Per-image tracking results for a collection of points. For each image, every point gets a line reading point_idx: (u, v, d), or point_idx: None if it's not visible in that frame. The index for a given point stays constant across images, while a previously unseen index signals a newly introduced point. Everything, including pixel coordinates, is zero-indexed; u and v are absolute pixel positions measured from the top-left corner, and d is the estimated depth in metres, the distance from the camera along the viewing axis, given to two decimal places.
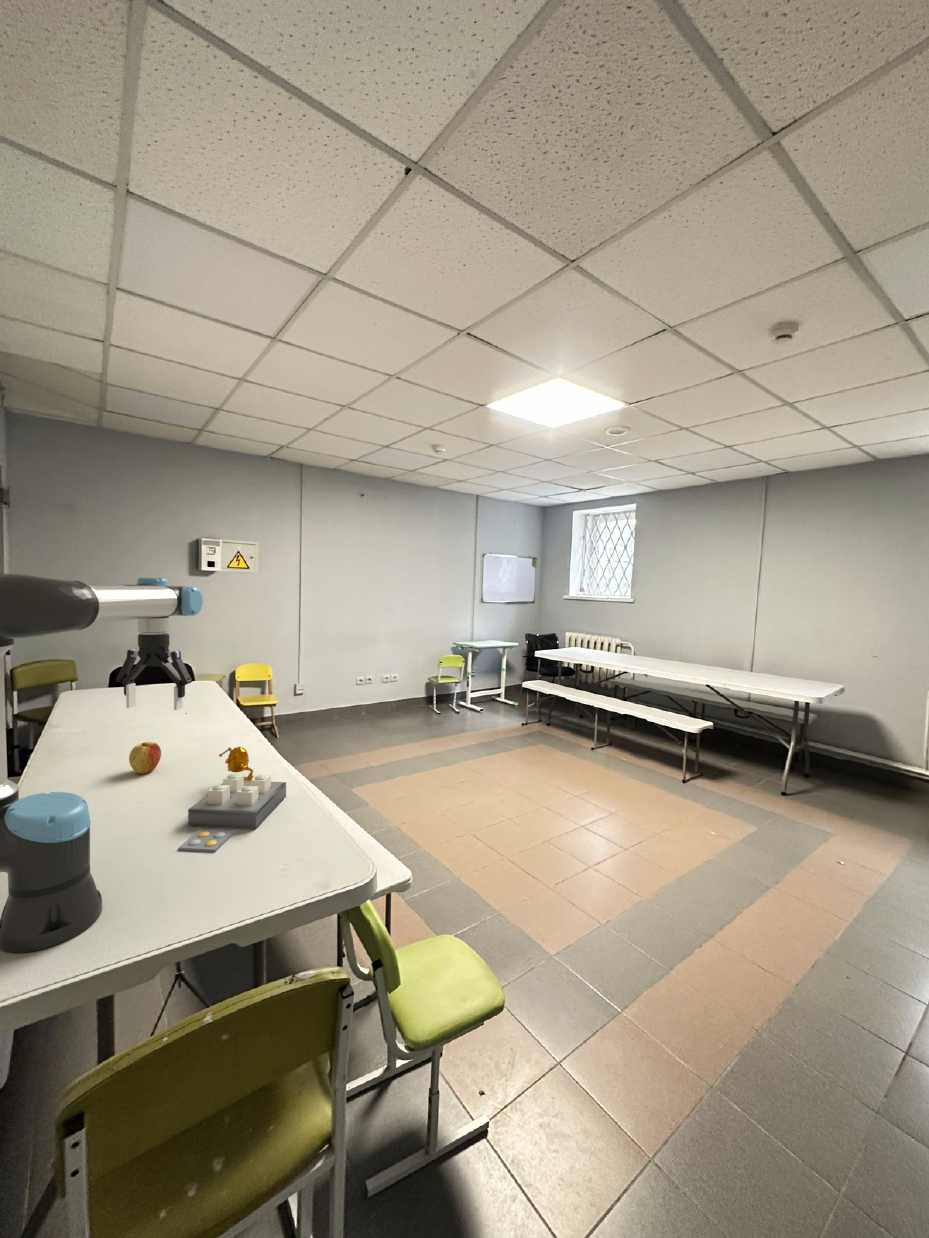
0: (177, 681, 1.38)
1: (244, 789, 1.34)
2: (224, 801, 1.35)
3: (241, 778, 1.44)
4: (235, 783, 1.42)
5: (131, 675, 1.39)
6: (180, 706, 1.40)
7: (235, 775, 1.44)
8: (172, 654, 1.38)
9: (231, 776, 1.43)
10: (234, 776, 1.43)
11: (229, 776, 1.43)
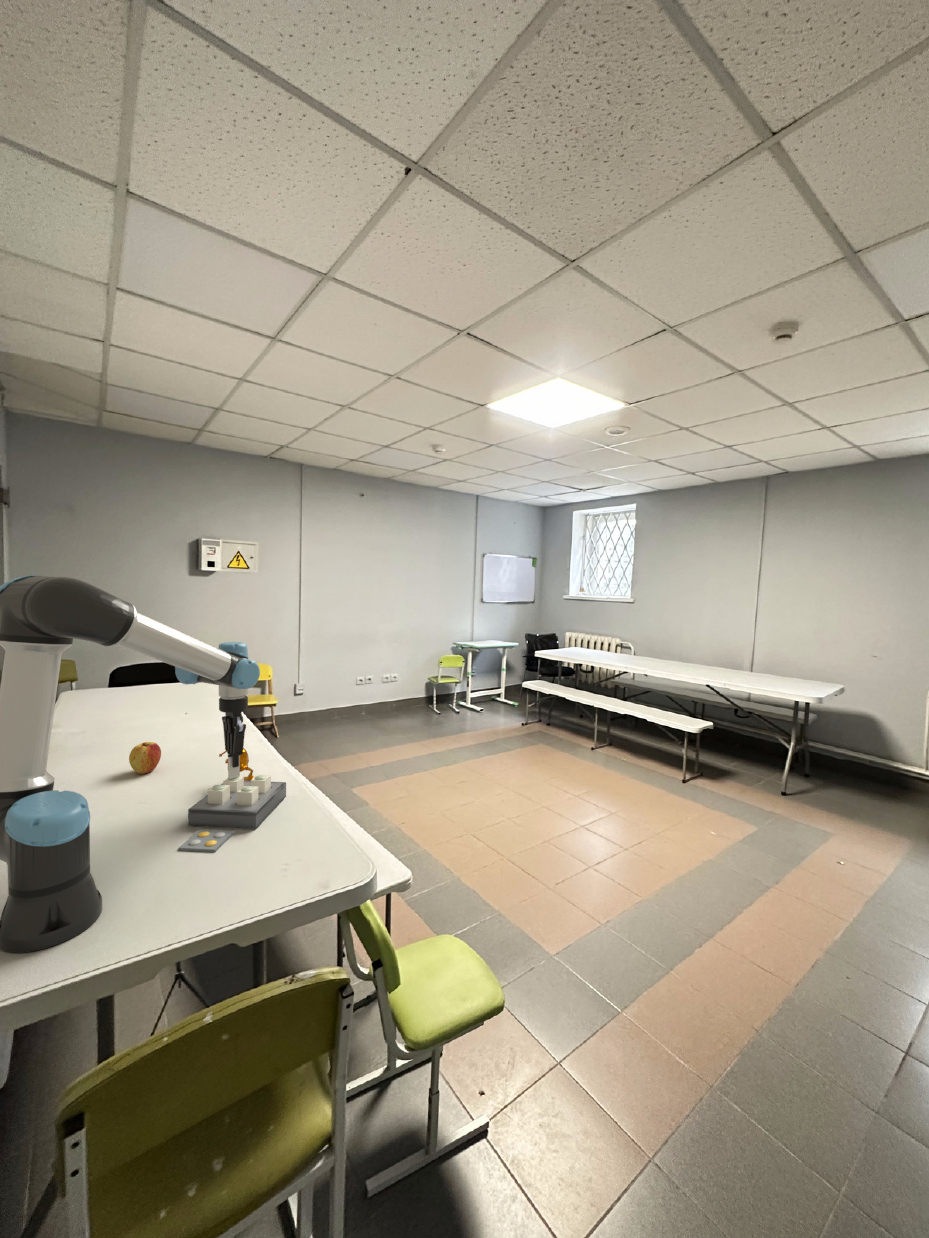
0: (231, 751, 1.41)
1: (244, 789, 1.34)
2: (224, 801, 1.35)
3: (241, 780, 1.44)
4: (235, 786, 1.42)
5: (228, 742, 1.43)
6: (236, 774, 1.43)
7: None
8: (235, 727, 1.38)
9: (231, 778, 1.43)
10: (234, 778, 1.43)
11: (229, 778, 1.43)
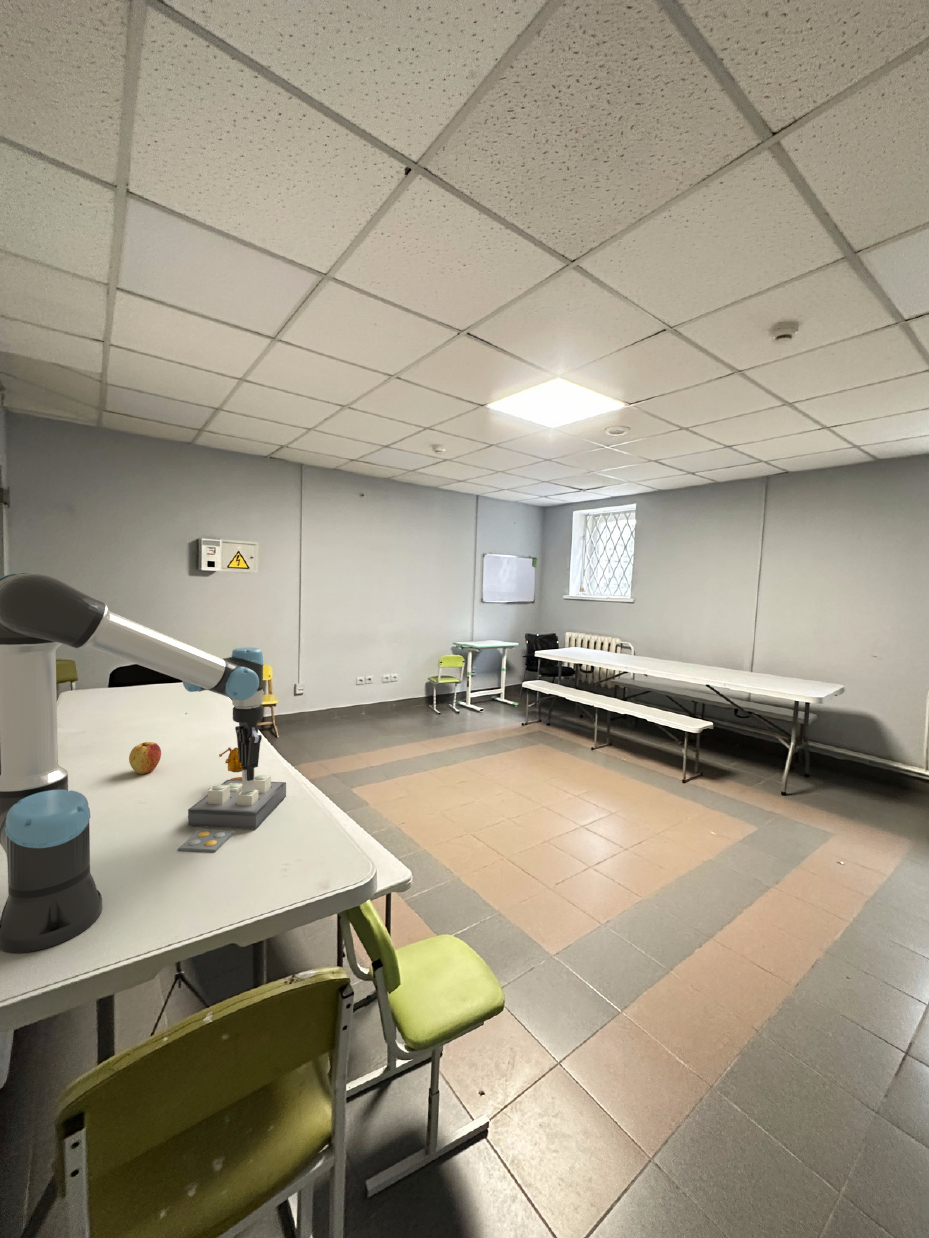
0: (245, 764, 1.33)
1: None
2: (224, 801, 1.35)
3: (241, 787, 1.44)
4: None
5: (242, 754, 1.35)
6: (251, 788, 1.35)
7: (235, 784, 1.44)
8: (250, 738, 1.30)
9: (231, 786, 1.43)
10: (234, 786, 1.43)
11: None
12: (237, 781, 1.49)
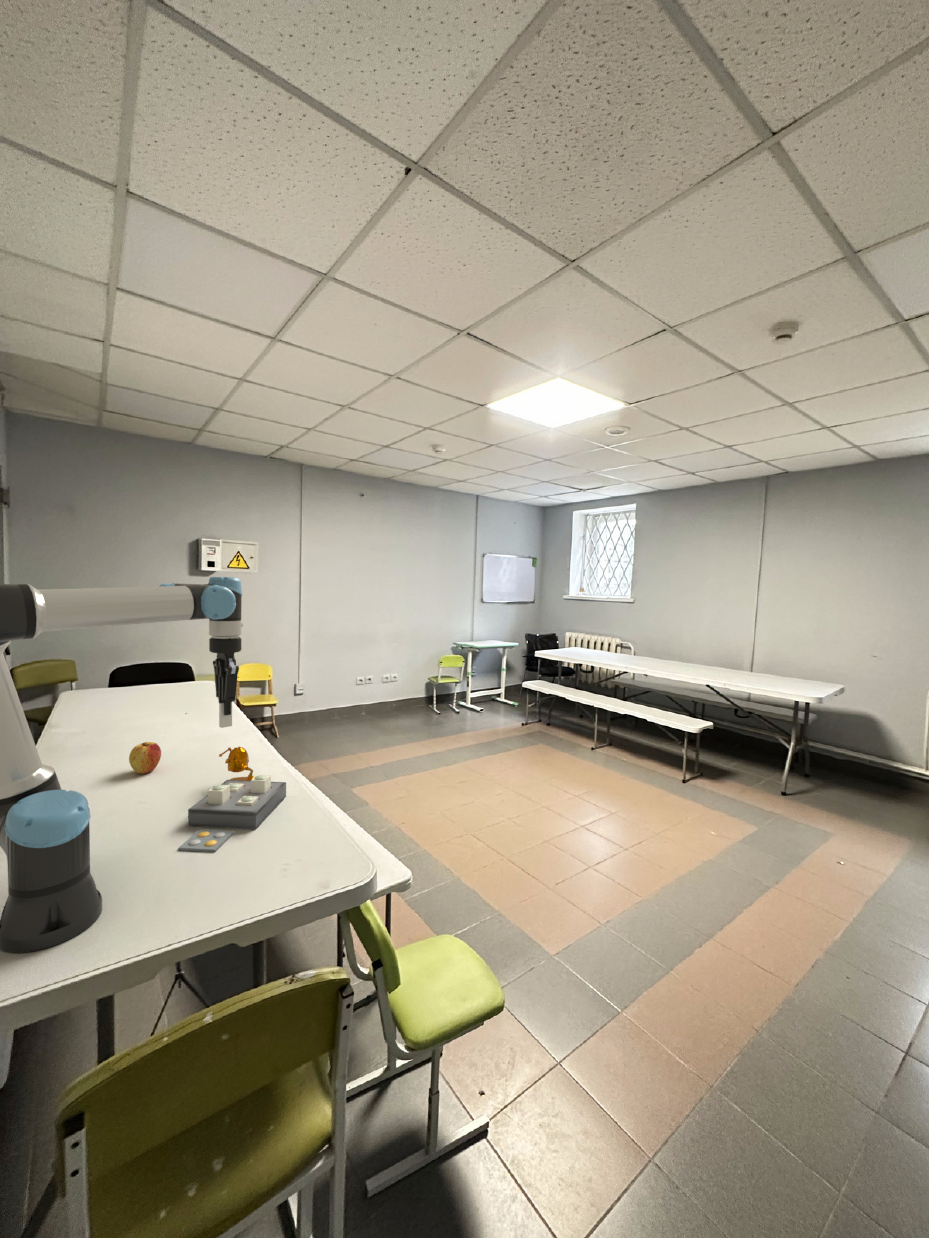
0: (222, 697, 1.28)
1: (244, 799, 1.35)
2: (224, 801, 1.35)
3: (241, 787, 1.44)
4: None
5: (219, 688, 1.30)
6: (228, 724, 1.30)
7: (235, 784, 1.44)
8: None
9: (231, 786, 1.43)
10: (234, 786, 1.43)
11: None
12: (237, 781, 1.49)
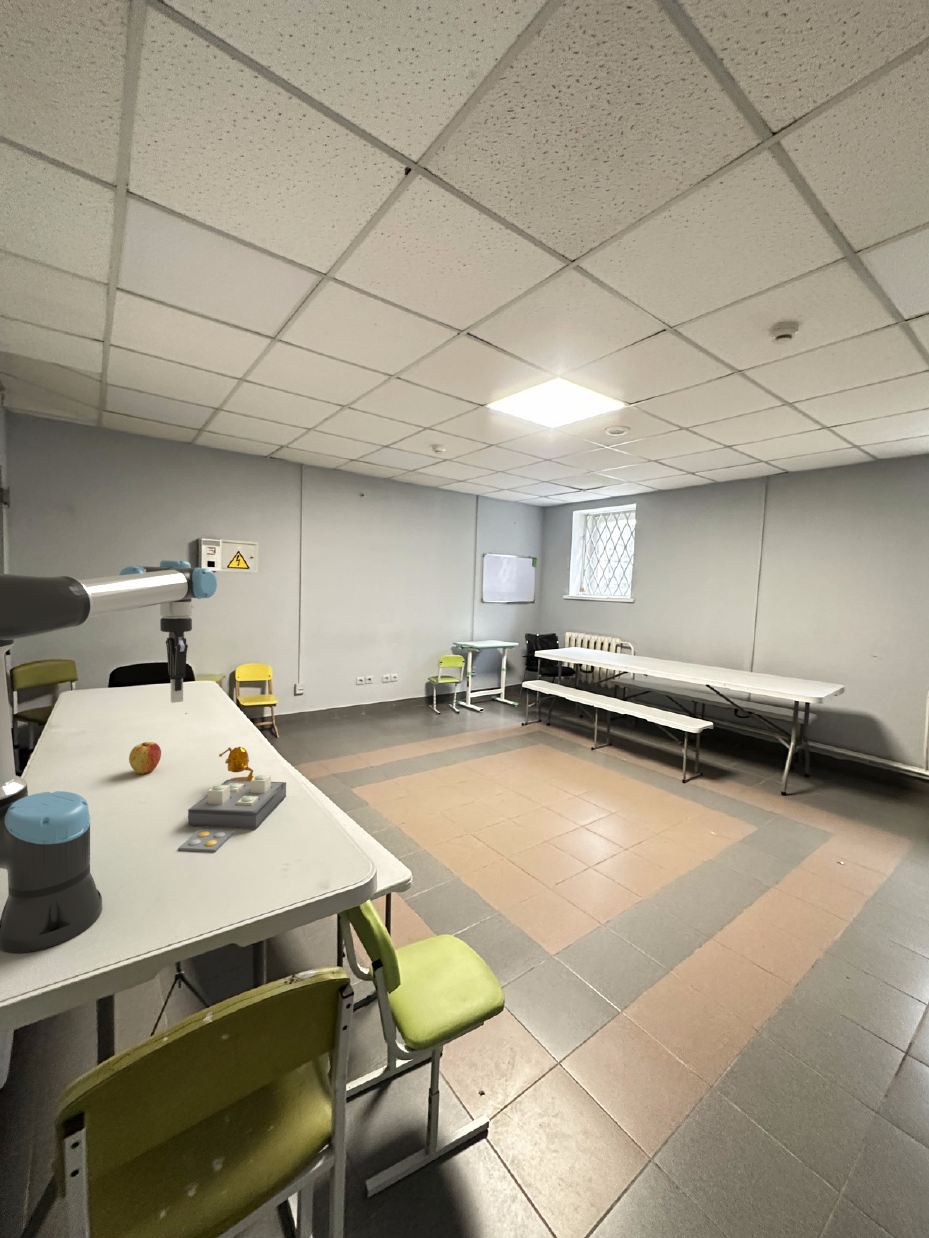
0: (173, 674, 1.36)
1: (244, 799, 1.35)
2: (224, 801, 1.35)
3: (241, 787, 1.44)
4: None
5: (170, 665, 1.38)
6: (179, 699, 1.38)
7: (235, 784, 1.44)
8: None
9: (231, 786, 1.43)
10: (234, 786, 1.43)
11: None
12: (237, 781, 1.49)
